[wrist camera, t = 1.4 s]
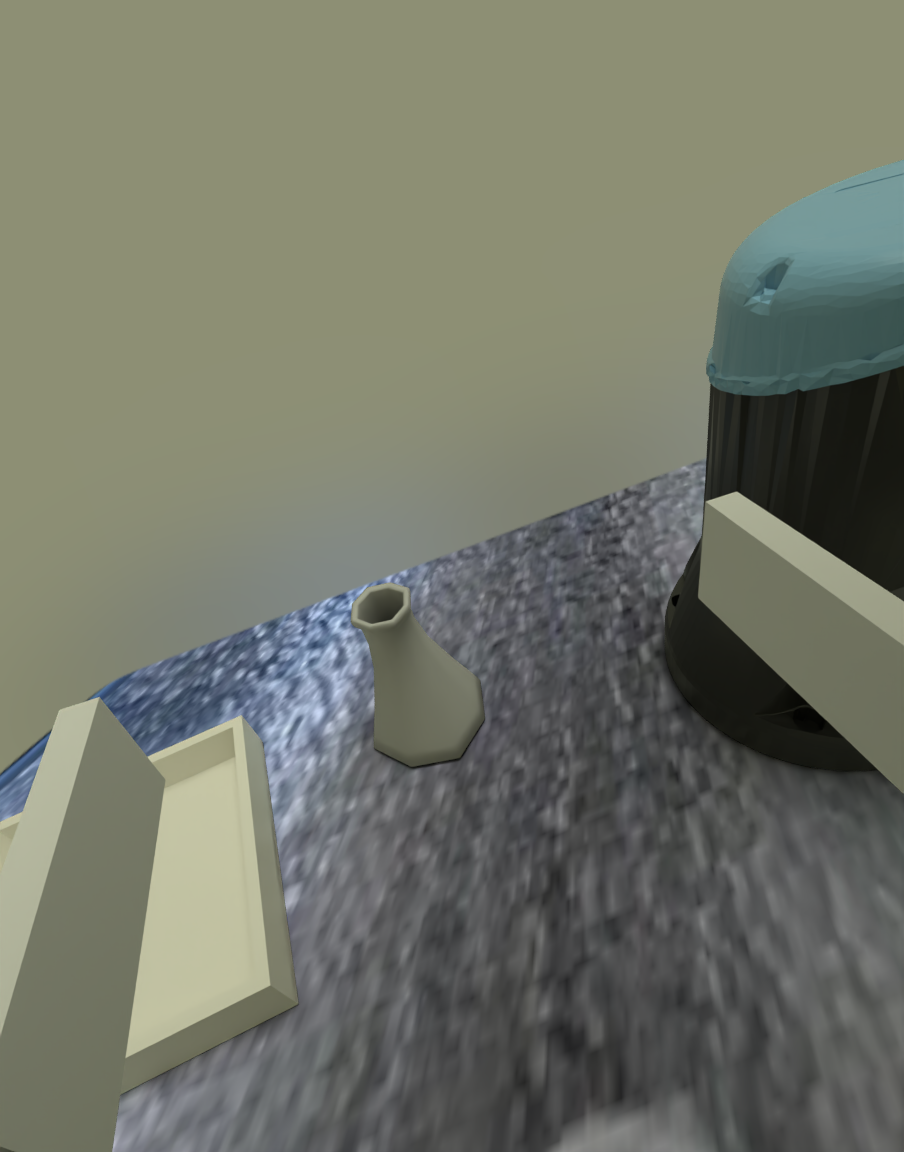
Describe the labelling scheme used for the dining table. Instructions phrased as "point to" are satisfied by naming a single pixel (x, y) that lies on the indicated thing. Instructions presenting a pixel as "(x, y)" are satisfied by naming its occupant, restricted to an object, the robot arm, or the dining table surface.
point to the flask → (415, 683)
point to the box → (207, 905)
